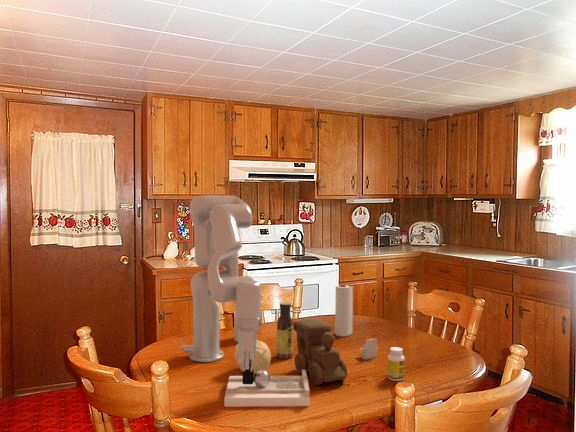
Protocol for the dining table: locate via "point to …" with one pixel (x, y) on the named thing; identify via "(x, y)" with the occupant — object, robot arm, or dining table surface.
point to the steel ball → (261, 378)
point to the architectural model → (369, 349)
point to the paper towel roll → (344, 310)
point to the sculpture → (258, 357)
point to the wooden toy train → (318, 352)
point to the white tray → (268, 392)
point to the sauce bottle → (284, 332)
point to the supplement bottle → (396, 364)
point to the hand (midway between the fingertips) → (248, 383)
